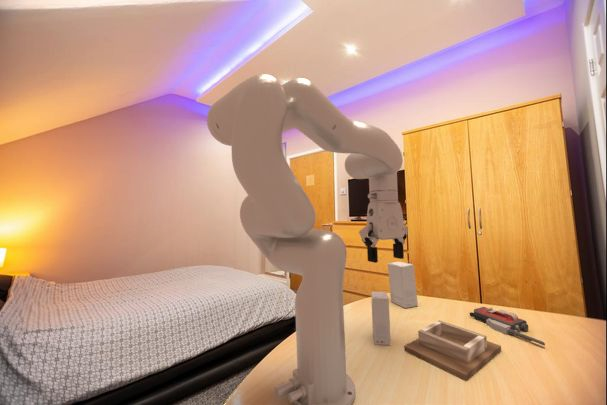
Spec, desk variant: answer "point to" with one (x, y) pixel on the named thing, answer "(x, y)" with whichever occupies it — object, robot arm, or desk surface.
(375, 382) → the desk surface
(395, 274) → the skincare box
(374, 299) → the skincare box
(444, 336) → the socket board
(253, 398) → the desk surface
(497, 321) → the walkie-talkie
